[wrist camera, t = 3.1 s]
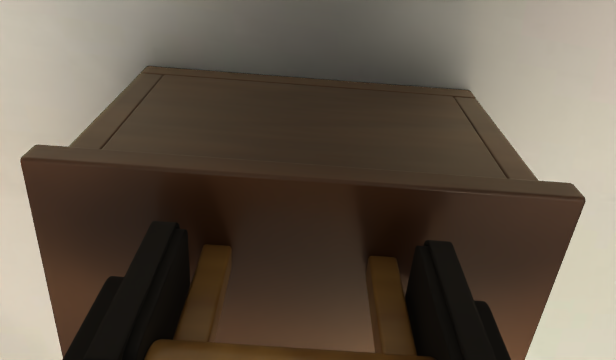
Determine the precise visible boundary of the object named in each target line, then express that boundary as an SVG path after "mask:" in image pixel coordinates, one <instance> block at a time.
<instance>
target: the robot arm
mask: <svg viewBox="0 0 616 360" xmlns="http://www.w3.org/2000/svg"><path fill="white" fill-rule="evenodd" d="M189 288H190V270H189V248H188V232H187V230H186V229H180V226H179V224H178V223H177V222H162V221H153V222H152V223H151V225H150V227H149V229H148V231H147V232H146V234H145V236H144V238H143V240H142V242H141V244H140V246H139V248H138V250H137V252H136V254H135V256H134V258H133V260H132V262H131V264H130V266H129V268H128V270H127V272H126V274H125V276H124V277H119V276H110V277H109V278H108V279H107V280H106V281H105V283H104V285H103V286H102V288H101V290H100V292H99V294H98V296H97V297H96V299H95V301H94V303H93V305H92V307H91V308H90V310H89V312H88V314H87V316H86V318H85V319H84V321H83V323H82V325H81V327H80V329H79V330H78V332H77V334H76V336H75V338H74V340H73V341H72V343H71V345H70V347H69V349H68V351H67V352H66V354H65V356H64V358H63V360H144V358H145V355H146V353H147V351H148V349H149V348H150V346H151V345H152V343H153V342H154V341H156V340H159V339H170V340H173V337H174V334H175V331H176V328H177V325H178V322H179V319H180V316H181V312H182V309H183V306H184V303H185V300H186V297H187V294H188V291H189ZM405 301H406V305H407V310H408V315H409V319H410V324H411V329H412V333H413V338H414V343H415V347H416V352H417V356H431V357H433V358H435V359H436V360H511V358H510V356H509V353H508V351H507V348H506V346H505V343H504V341H503V339H502V336H501V334H500V331H499V329H498V326H497V324H496V322H495V319H494V317H493V314H492V312H491V309H490V307H489V306H488V304H487V303H486V302H485V301H475V300H474V299H473V296H472V294H471V291H470V288H469V286H468V283H467V281H466V278H465V275H464V273H463V270H462V267H461V265H460V262H459V260H458V257H457V254H456V252H455V249H454V246H453V244H452V242H450V241H435V240H426V241H425V243H424V245H423V246H416V248H415V252H414V257H413V261H412V266H411V271H410V275H409V280H408V285H407V290H406V294H405Z"/></svg>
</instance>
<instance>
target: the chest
mask: <svg viewBox="0 0 616 360" xmlns="http://www.w3.org/2000/svg"><path fill="white" fill-rule="evenodd" d="M69 147H77V148H91V149H105V150H119V151H133V152H146V153H160V154H174V155H188V156H202V157H216V158H230V159H243V160H257V161H271V162H285V163H299V164H313V165H326V166H340V167H354V168H368V169H382V170H396V171H410V172H423V173H437V174H451V175H465V176H479V177H493V178H506V179H520V180H534V181H538V179H537V178H536V177H535V176H534V174H533V173H532V172H531V170H530V169H529V168H528V166H527V165H526V164H525V162H524V161H523V160H522V158H521V157H520V156H519V155H518V153H517V152H516V151H515V149H514V148H513V147H512V145H511V144H510V143H509V141H508V140H507V139H506V138H505V136H504V135H503V134H502V132H501V131H500V130H499V128H498V127H497V126H496V124H495V123H494V122H493V121H492V119H491V118H490V117H489V115H488V114H487V113H486V111H485V110H484V109H483V107H482V106H481V105H480V103H479V102H478V101H477V100H476V99H475V97H474V95H473V94H472V93H471V91H469V90H457V89H444V88H431V87H417V86H404V85H391V84H378V83H364V82H351V81H338V80H325V79H311V78H298V77H285V76H272V75H259V74H245V73H232V72H219V71H206V70H192V69H179V68H166V67H153V66H147V67H146V68H145V69H144V70H143V71H142V72H141V74H139V75H138V76H137V77H136V78H135V79H134V80H133V81H132V82H131V83H130V84H129V85H128V86H127V88H126V89H125V90H124V91H123V92H122V93H121V94H120V95H119V96H118V97H117V98H116V99H115V100H114V101H113V102H112V103H111V104H110V105H109V106H108V107H107V108H106V109H105V110H104V111H103V112H102V113H101V114H100V115H99V116H98V117H97V118H96V119H95V120H94V121H93V122H92V123H91V124H90V125H89V126H88V127H87V128H86V129H85V130H84V131H83V132H82V133H81V134H80V135H79V136H78V138H77V139H76V140H75V141H74V142H73V143H72V144H71V145H70V146H69Z"/></svg>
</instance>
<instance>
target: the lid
mask: <svg viewBox="0 0 616 360" xmlns="http://www.w3.org/2000/svg"><path fill="white" fill-rule="evenodd" d="M20 162H21V166H22V171H23V175H24V180H25V185H26V189H27V194H28V198H29V203H30V208H31V212H32V217H33V222H34V226H35V231H36V235H37V240H38V245H39V249H40V254H41V258H42V263H43V268H44V272H45V277H46V282H47V286H48V291H49V295H50V300H51V305H52V309H53V314H54V319H55V323H56V328H57V332H58V337H59V342H60V346H61V351H62V355H63V358H64V356H65V354H66V352H67V351H68V349H69V347H70V345H71V343H72V341H73V340H74V338H75V336H76V334H77V332H78V330H79V329H80V327H81V325H82V323H83V321H84V319H85V318H86V316H87V314H88V312H89V310H90V308H91V307H92V305H93V303H94V301H95V299H96V297H97V296H98V294H99V292H100V290H101V288H102V286H103V285H104V283H105V281H106V280H107V279H108V278H109V277H110V276H119V277H124V276H125V274H126V272H127V270H128V268H129V266H130V264H131V262H132V260H133V258H134V256H135V254H136V252H137V250H138V248H139V246H140V244H141V242H142V240H143V238H144V236H145V234H146V232H147V231H148V229H149V227H150V225H151V223H152V222H153V221H162V222H177V223H178V224H179V226H180V229H186V230H187V232H188V248H189V270H190V288H189V291H188V294H187V297H186V300H185V303H184V306H183V309H182V312H181V316H180V319H179V322H178V325H177V328H176V331H175V334H174V337H173V340H170V339H159V340H156V341H154V342H153V343H152V345H151V346H150V348H149V349H148V351H147V353H146V355H145V358H144V360H436V359H435V358H433V357H431V356H417V352H416V347H415V343H414V338H413V333H412V329H411V324H410V319H409V315H408V310H407V305H406V301H405V294H406V290H407V285H408V280H409V275H410V271H411V266H412V261H413V257H414V252H415V248H416V246H423V245H424V243H425V241H426V240H435V241H450V242H452V244H453V246H454V249H455V252H456V254H457V257H458V260H459V262H460V265H461V267H462V270H463V273H464V275H465V278H466V281H467V283H468V286H469V288H470V291H471V294H472V296H473V299H474V300H475V301H485V302H486V303H487V304H488V306H489V307H490V309H491V312H492V314H493V317H494V319H495V322H496V324H497V326H498V329H499V331H500V334H501V336H502V339H503V341H504V343H505V346H506V348H507V351H508V353H509V356H510V358H511V360H525V357H526V355H527V352H528V349H529V347H530V344H531V342H532V339H533V336H534V334H535V331H536V329H537V326H538V323H539V321H540V318H541V316H542V313H543V310H544V308H545V305H546V303H547V300H548V297H549V295H550V292H551V290H552V287H553V284H554V282H555V279H556V277H557V274H558V271H559V269H560V266H561V264H562V261H563V258H564V256H565V253H566V251H567V248H568V245H569V243H570V240H571V238H572V235H573V232H574V230H575V227H576V224H577V222H578V219H579V217H580V214H581V211H582V209H583V206H584V204H585V197H584V196H583V195H582V194H581V193H580V192H579V190H578V189H577V188H576V187H575V186H574V185H573V184H571V183H562V182H548V181H534V180H520V179H506V178H493V177H479V176H465V175H451V174H437V173H423V172H410V171H396V170H382V169H368V168H354V167H340V166H326V165H313V164H299V163H285V162H271V161H257V160H243V159H230V158H216V157H202V156H188V155H174V154H160V153H146V152H133V151H119V150H105V149H91V148H77V147H63V146H49V145H35V146H34V147H32V148H31V149H30V150H29V151H28V152H27V153H26V154H25V155H23V156H22V157H21V161H20Z"/></svg>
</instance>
